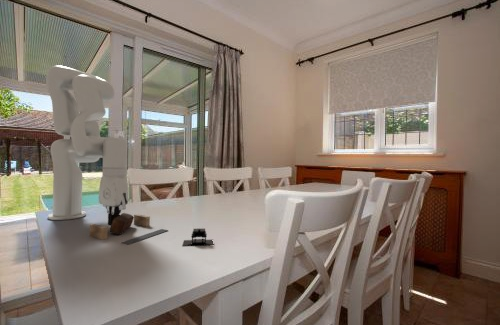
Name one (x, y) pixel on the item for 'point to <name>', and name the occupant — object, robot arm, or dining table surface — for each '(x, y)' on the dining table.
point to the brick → (121, 223)
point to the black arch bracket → (198, 241)
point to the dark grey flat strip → (144, 236)
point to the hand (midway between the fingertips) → (113, 224)
